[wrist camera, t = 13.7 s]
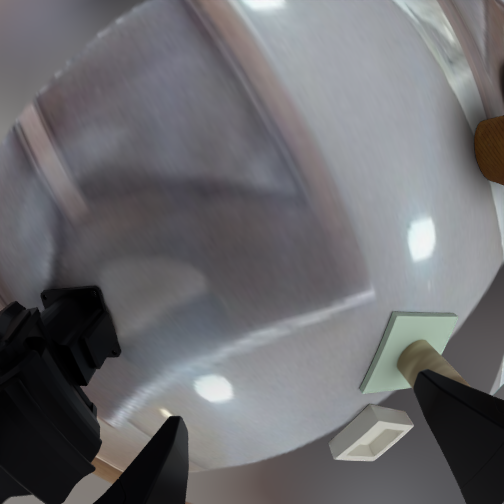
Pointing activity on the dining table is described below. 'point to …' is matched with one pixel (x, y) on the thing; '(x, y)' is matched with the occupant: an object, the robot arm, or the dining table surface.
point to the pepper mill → (424, 362)
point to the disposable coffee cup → (491, 148)
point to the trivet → (405, 346)
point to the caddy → (370, 434)
